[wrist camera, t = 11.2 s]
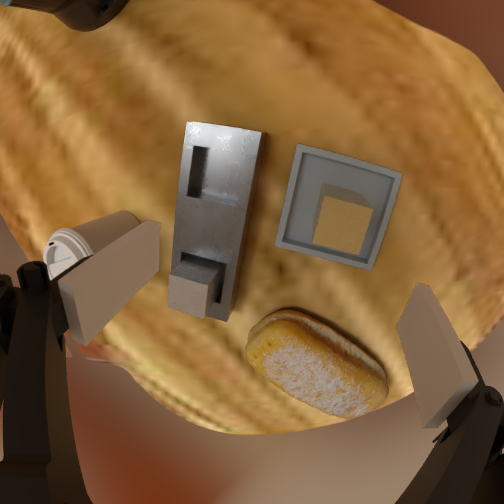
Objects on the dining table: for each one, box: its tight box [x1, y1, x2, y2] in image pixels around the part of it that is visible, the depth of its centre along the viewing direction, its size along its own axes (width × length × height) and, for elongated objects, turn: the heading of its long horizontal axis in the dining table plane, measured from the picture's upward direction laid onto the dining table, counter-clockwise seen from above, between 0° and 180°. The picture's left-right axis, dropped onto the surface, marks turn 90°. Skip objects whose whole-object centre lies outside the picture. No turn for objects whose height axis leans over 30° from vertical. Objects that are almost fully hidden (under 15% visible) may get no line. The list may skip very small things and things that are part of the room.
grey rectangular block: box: [168, 254, 226, 319], centre depth 38 cm, size 5×5×8 cm
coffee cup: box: [43, 211, 140, 280], centre depth 37 cm, size 10×10×15 cm
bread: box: [245, 309, 389, 419], centre depth 42 cm, size 13×26×8 cm, turn 57°
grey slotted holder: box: [171, 121, 267, 322], centre depth 38 cm, size 26×9×4 cm, turn 170°
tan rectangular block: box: [312, 183, 373, 255], centre depth 31 cm, size 5×5×8 cm
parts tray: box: [274, 143, 403, 271], centre depth 35 cm, size 13×13×2 cm
